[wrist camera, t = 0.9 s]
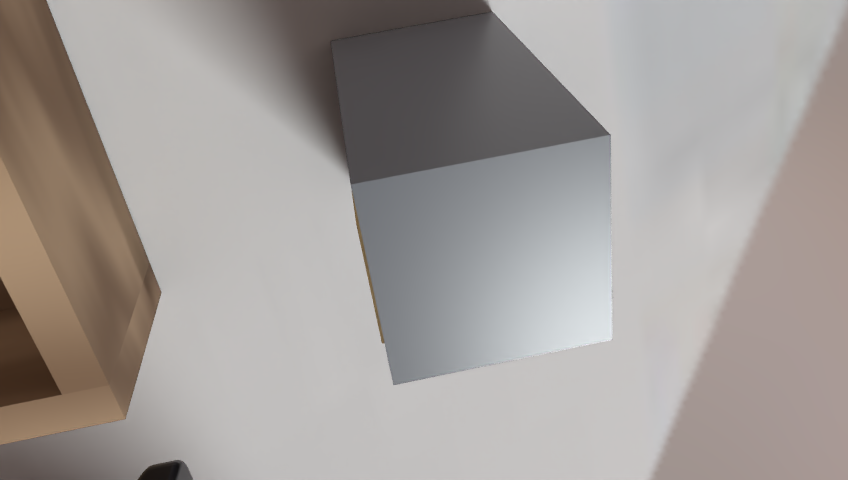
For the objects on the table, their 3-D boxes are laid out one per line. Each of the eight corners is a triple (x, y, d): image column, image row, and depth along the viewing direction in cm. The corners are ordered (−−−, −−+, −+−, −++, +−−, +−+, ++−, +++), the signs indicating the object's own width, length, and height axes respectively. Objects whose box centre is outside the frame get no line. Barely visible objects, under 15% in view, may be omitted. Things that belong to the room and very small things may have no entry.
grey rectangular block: (507, 159, 20) (615, 339, 13) (359, 187, 20) (390, 385, 13) (494, 11, 18) (613, 134, 11) (328, 41, 18) (347, 184, 11)
